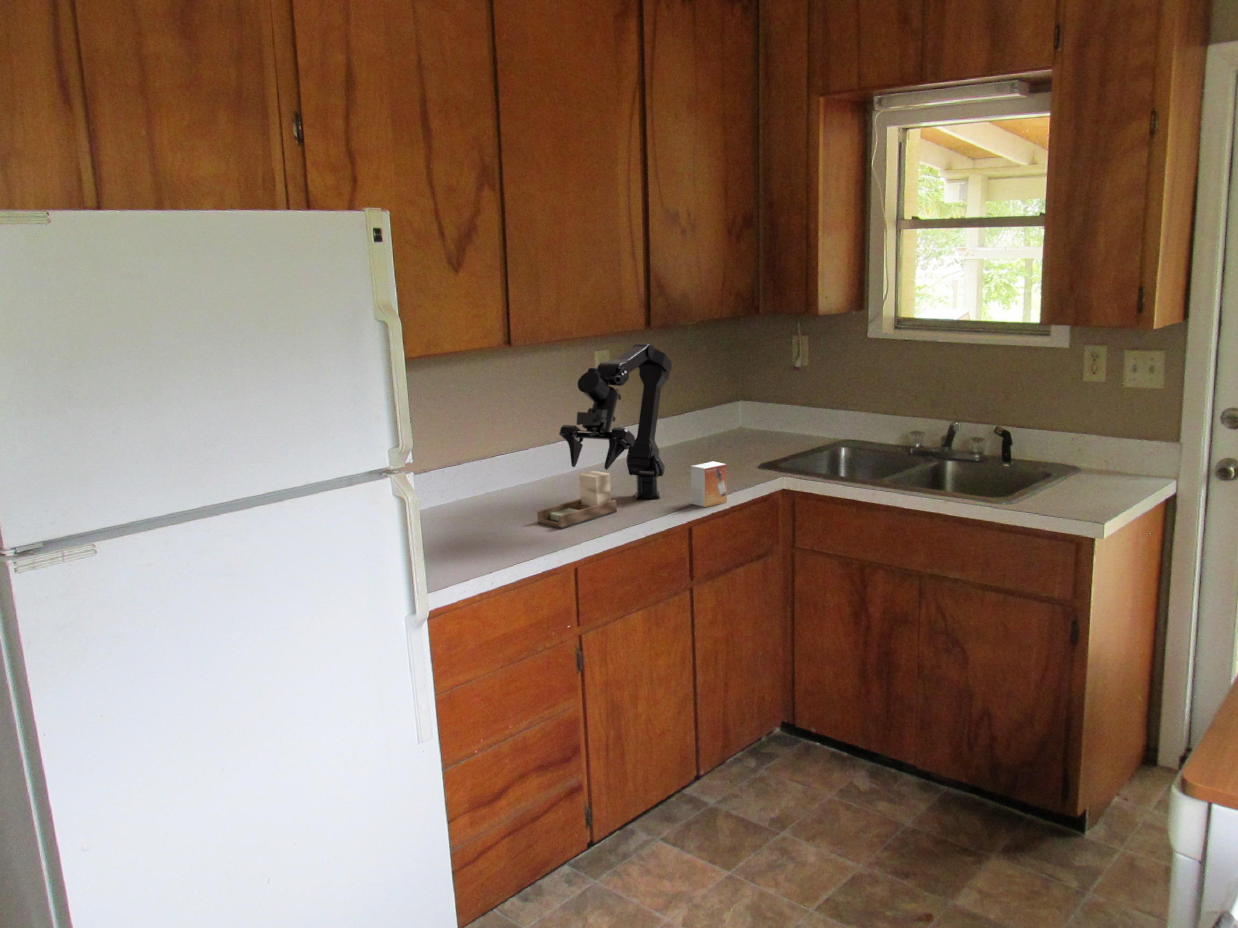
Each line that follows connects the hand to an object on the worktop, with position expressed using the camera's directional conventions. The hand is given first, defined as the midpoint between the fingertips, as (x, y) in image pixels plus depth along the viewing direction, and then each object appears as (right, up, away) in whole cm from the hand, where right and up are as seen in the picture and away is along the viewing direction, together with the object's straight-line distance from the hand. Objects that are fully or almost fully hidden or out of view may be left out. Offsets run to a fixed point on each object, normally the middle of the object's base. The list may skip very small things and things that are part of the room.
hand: (589, 467), depth 254 cm
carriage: (+1, -9, +16) cm, 19 cm away
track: (-3, -13, +12) cm, 18 cm away
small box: (+31, -10, +21) cm, 39 cm away
